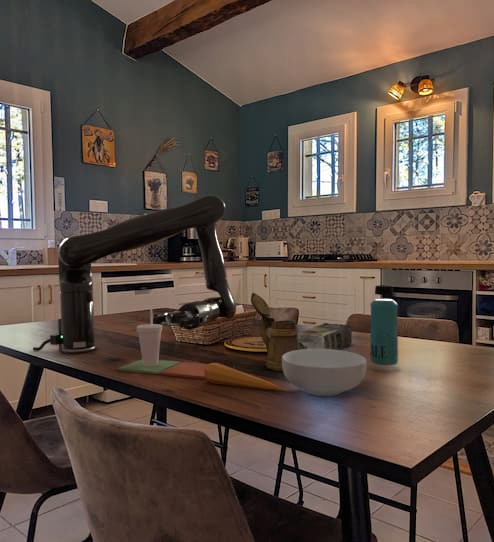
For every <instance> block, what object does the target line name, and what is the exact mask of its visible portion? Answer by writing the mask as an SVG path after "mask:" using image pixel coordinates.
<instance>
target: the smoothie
mask: <svg viewBox="0 0 494 542" xmlns="http://www.w3.org/2000/svg"><path fill="white" fill-rule="evenodd" d="M149 317H150V318H149V320H150V322H149V323H148V324H147V323H145V324H140V325H137V326H136V332H137V335H138V341H139V347H140V354H141V359H142V361H143V366H156V365H158V360H160V358H159V357H160V348H161V339H162V338H161V337H162V331H163V324H161V325H159V324H153V317H154V314H153V308H150V309H149Z"/></svg>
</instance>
